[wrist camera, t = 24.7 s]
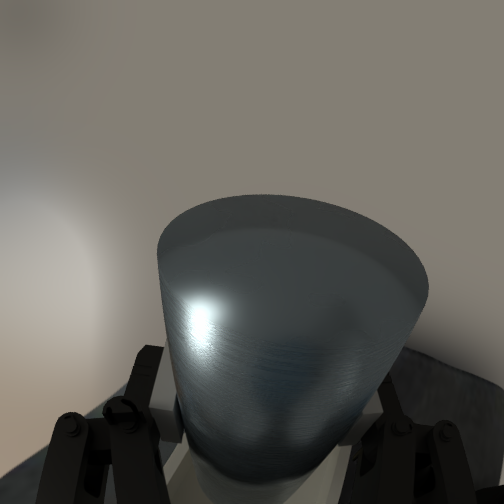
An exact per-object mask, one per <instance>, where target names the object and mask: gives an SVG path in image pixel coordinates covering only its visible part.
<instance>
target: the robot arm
mask: <svg viewBox="0 0 504 504" xmlns="http://www.w3.org/2000/svg"><path fill="white" fill-rule="evenodd" d="M102 414H103V416H104V418H93V419H85V418H84V417H83V416H82V415H81V414H78V413H76V412H68V413H65V414H63V415H62V416H61V417H59V418H58V420H57V422H56V424H55V427H54V431H53V434H52V438H51V441H50V444H49V448H48V452H47V455H46V459H45V463H44V467H43V471H42V475H41V480H40V484H39V489H38V494H37V499H36V504H104V497H105V490H106V483H107V477H108V470H109V465H110V464H112V466H113V476H114V484H115V491H116V498H117V504H171V502H170V498H169V494H168V489H167V485H166V480H165V475H164V470H163V465H162V460H161V455H160V450H159V447H158V445H159V440H160V437H161V440H162V441H166V442H173V443H180V444H182V438H183V431H184V425H183V420H182V416H181V411H180V407H179V402H178V397H177V392H176V387H175V382H174V376H173V371H172V365H171V359H170V353H169V347H168V341H167V339H166V343H165V347H159V346H152V345H145V346H144V347H143V348H142V349H141V350H140V351H139V353H138V354H137V357H136V360H135V363H134V366H133V369H132V372H131V375H130V378H129V381H128V384H127V387H126V390H125V394H124V396H117V397H113V398H112V399H110V400H109V401H107V403H106V404H105V405H104V407H103V412H102ZM360 439H361V441H362V446H363V447H362V448H361V449H360V450H359V451H358V452H357V453H356V454H355V455H354V457H353V459H352V460H353V461H355V460H356V459H357V458H358V462H357V469H356V475H355V480H354V486H353V491H352V497H351V502H350V504H504V485H500V486H494V487H489V488H484V489H480V490H477V491H475V490H474V486H473V481H472V477H471V473H470V469H469V465H468V461H467V457H466V454H465V450H464V447H463V443H462V440H461V437H460V433H459V430H458V429H457V427H456V425H455V424H453V423H452V422H450V421H448V420H442V421H439V422H438V423H437V424H436V425H435V426H427V425H420V424H415V423H413V421H412V420H411V419H410V418H409V417H408V416H406V415H404V414H403V412H402V409H401V406H400V403H399V400H398V397H397V394H396V391H395V388H394V385H393V383H392V380H391V377H390V376H389V372H388V373H387V375H386V376H385V378H384V380H383V381H382V383H381V384H380V386H379V387H378V389H377V390H376V392H375V393H374V395H373V396H372V398H371V399H370V401H369V402H368V404H367V405H366V407H365V408H364V409H363V411H362V412H361V414H360V415H359V416H358V418H357V419H356V421H355V422H354V423H353V425H352V426H351V427H350V429H349V430H348V431H347V433H346V434H345V435H344V436H343V438H342V439H341V440H340V441H339V443H338V447H340V446H349V445H356V444H357V443H358V442H359V441H360Z"/></svg>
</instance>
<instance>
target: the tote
mask: <svg viewBox="0 0 504 504" xmlns="http://www.w3.org/2000/svg"><path fill="white" fill-rule="evenodd" d="M351 447H352V445H349V446H340V447H338V444H337V445H336V446H335V448H334V449H333V450H332V451H331V453H330V454H329V455H328V456H327V457H326V459H325V460H324V461H323V462H322V463H321V464H320V466H319V467H318V468H317V469H316V470H315V471H314V472H313V473H312V475H311V476H310V477H309V478H308V479H307V480H306V481H305V482H304V483H303V484H302V485H301V486H300V487H299V489H298V490H297V491H296V492H295V493H294V494H293V495H292V496H291V497H290V498H289V499H288V500H287V501H286V502H284V503H283V504H338V501H339V497H340V494H341V490H342V486H343V482H344V478H345V474H346V470H347V466H348V461H349V457H350V452H351ZM163 470H164V475H165V480H166V485H167V489H168V494H169V498H170V502H171V504H214V503H213V502H211V501H210V500H209V499H208V498H207V497H206V495H205V494H204V493H203V491H202V489H201V488H200V486H199V483H198V480H197V476H196V473H195V469H194V465H193V462H192V458H191V454H190V450H189V446H188V442H187V438H186V434H185V433H184V435H183V438H182V444H180V443H178V445H177V446H176V448H175V450H174V451H173V453H172V455H171V456H170V458H169V459H168V461H167V463H166V464H165V466H164V467H163Z"/></svg>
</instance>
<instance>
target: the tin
mask: <svg viewBox="0 0 504 504" xmlns="http://www.w3.org/2000/svg"><path fill="white" fill-rule="evenodd" d="M157 260H158V269H159V280H160V289H161V297H162V305H163V313H164V320H165V327H166V334H167V341H168V347H169V353H170V359H171V365H172V371H173V376H174V382H175V387H176V392H177V397H178V402H179V407H180V411H181V416H182V420H183V425H184V429H185V434H186V438H187V442H188V446H189V450H190V454H191V458H192V462H193V465H194V469H195V473H196V476H197V480H198V483H199V486H200V488H201V489H202V491H203V493H204V494H205V495H206V497H207V498H208V499H209V500H210V501H211V502H213V503H214V504H283V503H284V502H286V501H287V500H288V499H289V498H290V497H291V496H292V495H293V494H294V493H295V492H296V491H297V490H298V489H299V487H300V486H301V485H302V484H303V483H304V482H305V481H306V480H307V479H308V478H309V477H310V476H311V475H312V473H313V472H314V471H315V470H316V469H317V468H318V467H319V466H320V464H321V463H322V462H323V461H324V460H325V459H326V457H327V456H328V455H329V454H330V453H331V451H332V450H333V449H334V448H335V446H336V445H337V444H338V443H339V441H340V440H341V439H342V438H343V436H344V435H345V434H346V433H347V431H348V430H349V429H350V427H351V426H352V425H353V423H354V422H355V421H356V419H357V418H358V416H359V415H360V414H361V412H362V411H363V409H364V408H365V407H366V405H367V404H368V402H369V401H370V399H371V398H372V396H373V395H374V393H375V392H376V390H377V389H378V387H379V386H380V384H381V383H382V381H383V380H384V378H385V376H386V375H387V373H388V372H389V370H390V368H391V367H392V365H393V363H394V362H395V360H396V358H397V357H398V355H399V353H400V351H401V350H402V348H403V346H404V344H405V342H406V341H407V339H408V337H409V335H410V333H411V331H412V330H413V328H414V326H415V324H416V322H417V320H418V318H419V316H420V314H421V312H422V310H423V308H424V306H425V303H426V300H427V297H428V290H429V284H428V278H427V275H426V272H425V269H424V266H423V265H422V263H421V261H420V259H419V258H418V257H417V255H416V254H415V253H414V251H413V250H412V249H411V248H410V247H409V246H408V245H407V244H406V243H405V242H404V241H403V240H402V239H400V238H399V237H398V236H397V235H395V234H394V233H392V232H391V231H390V230H388V229H387V228H385V227H384V226H382V225H380V224H379V223H377V222H375V221H373V220H371V219H369V218H367V217H365V216H363V215H360V214H358V213H356V212H353V211H351V210H348V209H345V208H342V207H339V206H336V205H333V204H329V203H325V202H321V201H317V200H312V199H307V198H300V197H294V196H283V195H242V196H233V197H227V198H222V199H217V200H213V201H209V202H206V203H203V204H200V205H198V206H195V207H194V208H191V209H189V210H187V211H185V212H184V213H182V214H180V215H179V216H178V217H176V218H175V219H174V220H172V221H171V222H170V224H169V225H168V226H167V227H166V228H165V229H164V231H163V233H162V234H161V236H160V239H159V243H158V248H157Z"/></svg>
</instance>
